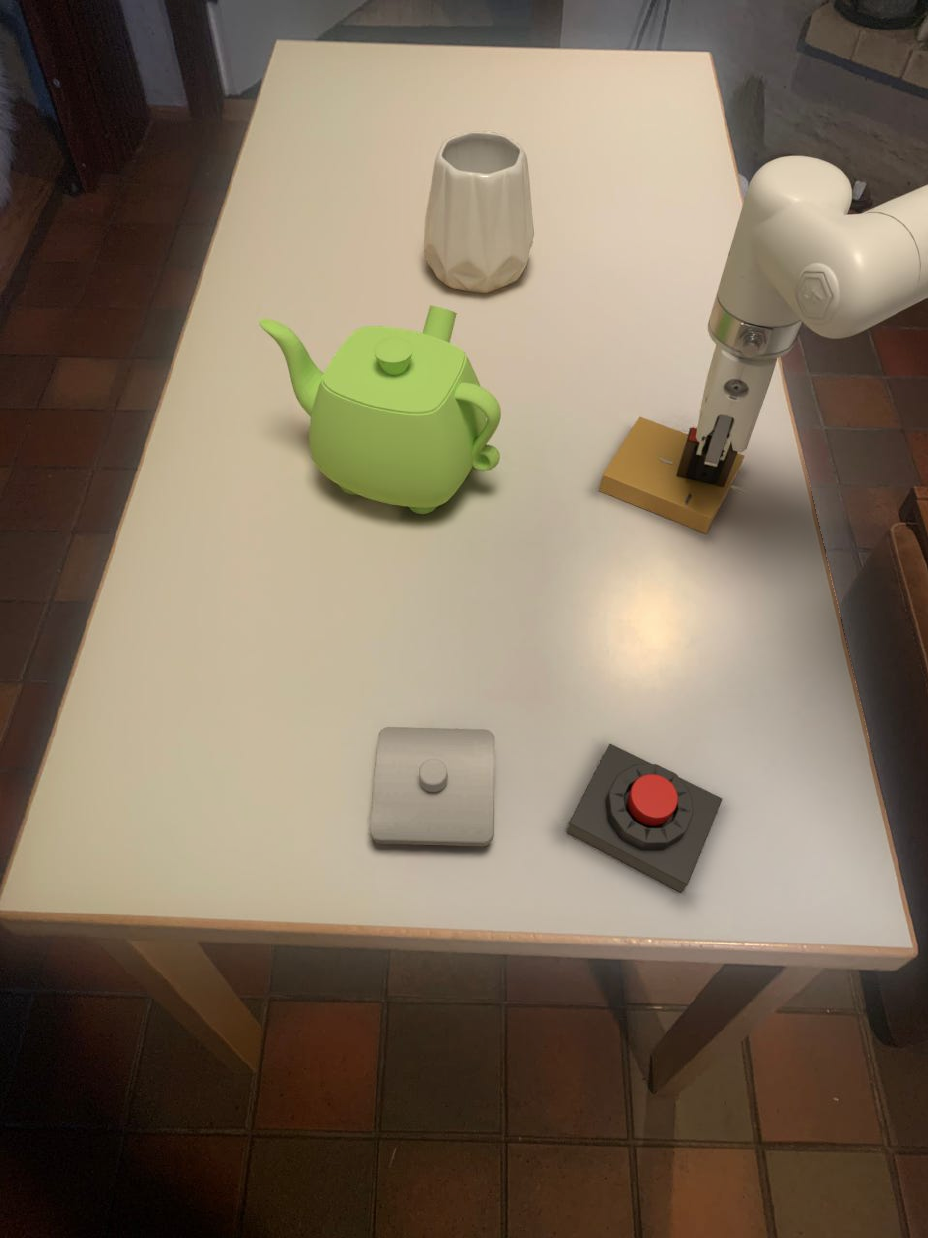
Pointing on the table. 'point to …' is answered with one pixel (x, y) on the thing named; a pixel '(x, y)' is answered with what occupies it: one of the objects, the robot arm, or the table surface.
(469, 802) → the light switch
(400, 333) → the teapot
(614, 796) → the button base
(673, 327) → the table surface
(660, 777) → the button
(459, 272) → the vase
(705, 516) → the plate
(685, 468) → the lock knob
